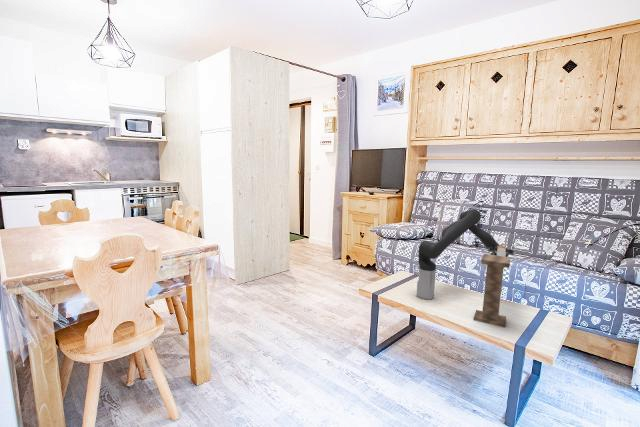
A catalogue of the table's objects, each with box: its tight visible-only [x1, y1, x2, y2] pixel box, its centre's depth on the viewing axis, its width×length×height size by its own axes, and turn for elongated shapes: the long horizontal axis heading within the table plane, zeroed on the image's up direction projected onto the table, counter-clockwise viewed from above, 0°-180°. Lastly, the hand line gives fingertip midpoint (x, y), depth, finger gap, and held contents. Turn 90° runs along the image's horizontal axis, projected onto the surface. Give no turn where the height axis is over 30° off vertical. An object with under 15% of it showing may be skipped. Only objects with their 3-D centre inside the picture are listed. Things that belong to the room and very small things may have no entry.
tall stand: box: [473, 253, 512, 328], centre depth 164 cm, size 14×13×32 cm
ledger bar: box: [497, 245, 507, 269], centre depth 178 cm, size 4×20×4 cm, turn 151°
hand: (501, 249), depth 182 cm, fingers closed on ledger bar, 4 cm apart
